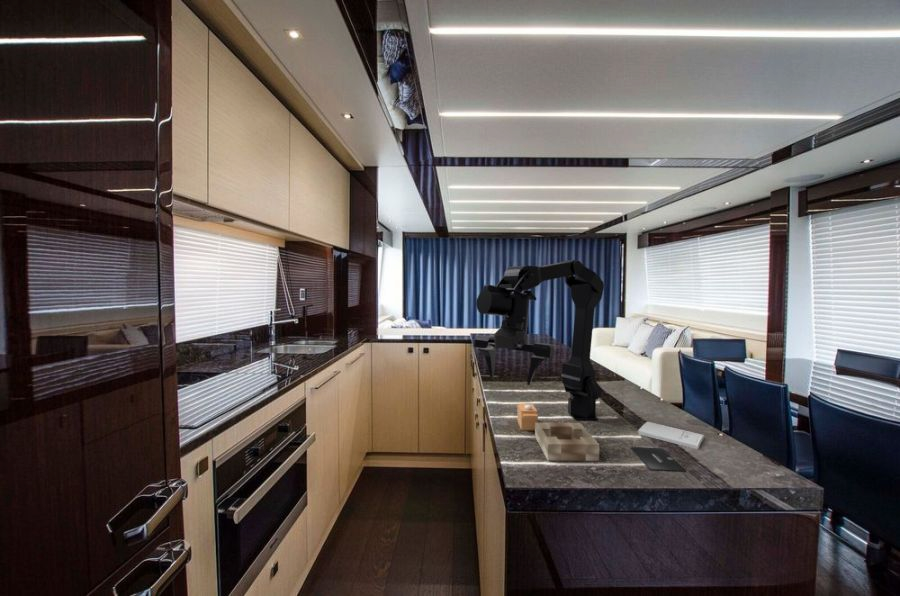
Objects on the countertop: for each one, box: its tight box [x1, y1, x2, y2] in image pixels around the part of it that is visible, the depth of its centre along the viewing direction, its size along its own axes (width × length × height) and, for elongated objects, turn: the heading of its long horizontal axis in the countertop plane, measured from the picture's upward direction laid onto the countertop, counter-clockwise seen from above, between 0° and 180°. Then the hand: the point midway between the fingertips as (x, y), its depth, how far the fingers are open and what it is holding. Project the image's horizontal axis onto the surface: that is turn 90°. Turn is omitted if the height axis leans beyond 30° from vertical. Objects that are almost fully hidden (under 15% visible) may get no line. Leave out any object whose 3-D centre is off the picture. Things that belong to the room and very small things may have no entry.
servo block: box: [516, 402, 539, 431], centre depth 95 cm, size 4×9×6 cm, turn 179°
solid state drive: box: [630, 446, 687, 473], centre depth 77 cm, size 7×10×1 cm
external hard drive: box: [637, 421, 705, 450], centre depth 89 cm, size 2×8×12 cm
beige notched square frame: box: [534, 422, 600, 462], centre depth 82 cm, size 11×12×4 cm
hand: (509, 381), depth 87 cm, fingers open, 9 cm apart
